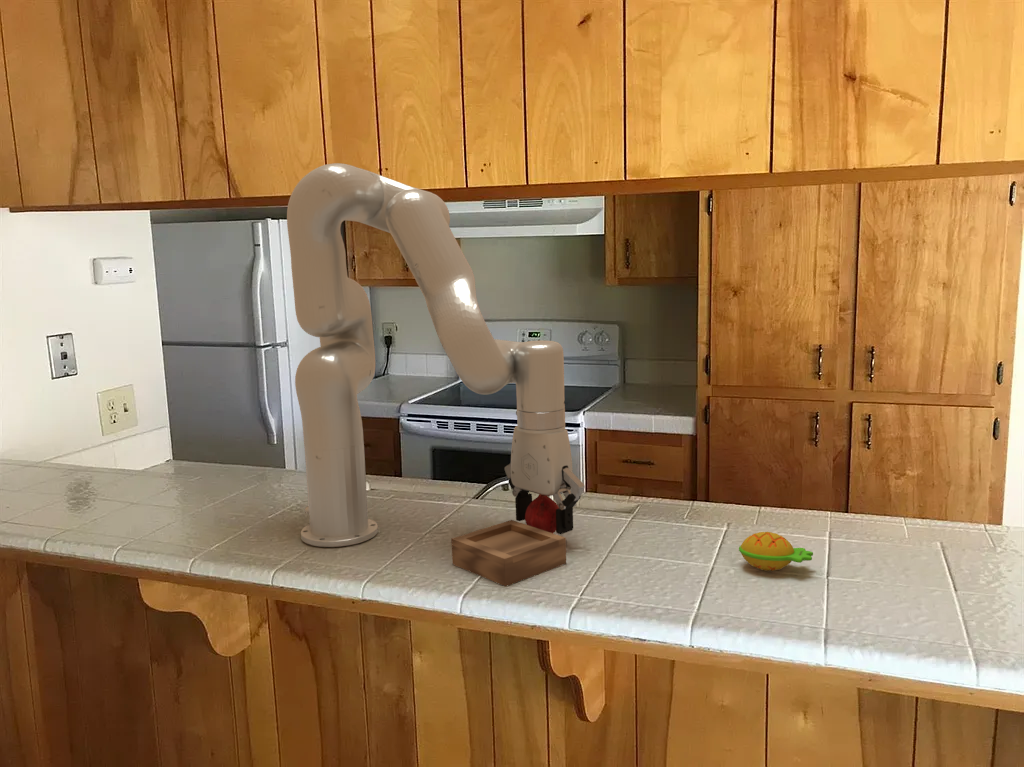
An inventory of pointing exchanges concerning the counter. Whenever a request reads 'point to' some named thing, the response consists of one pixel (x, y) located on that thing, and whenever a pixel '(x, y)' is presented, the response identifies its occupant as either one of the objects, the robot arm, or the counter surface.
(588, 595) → the counter surface
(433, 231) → the robot arm
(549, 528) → the onion
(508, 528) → the base
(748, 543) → the toy pineapple
